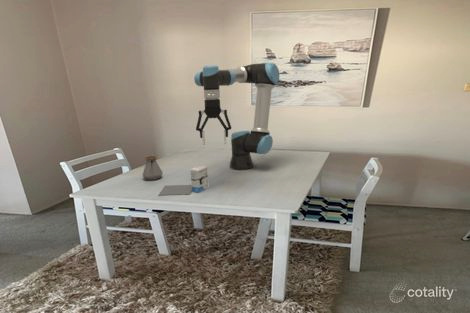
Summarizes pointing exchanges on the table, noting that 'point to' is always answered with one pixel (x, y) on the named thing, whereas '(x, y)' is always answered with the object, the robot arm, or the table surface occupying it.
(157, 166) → the coffee pot
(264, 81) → the robot arm
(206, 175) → the ink box
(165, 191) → the mat
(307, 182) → the table surface
